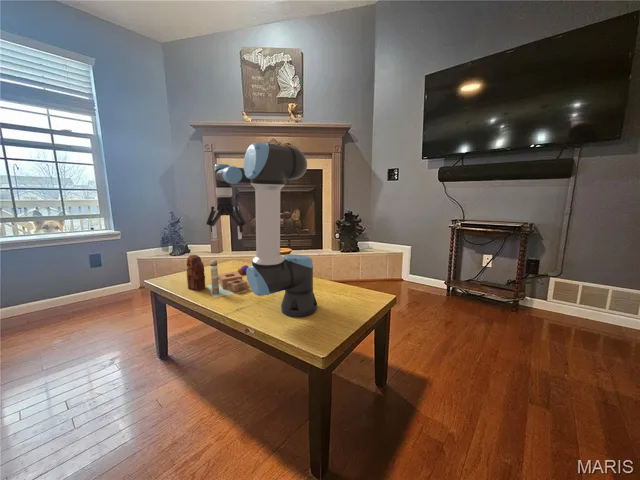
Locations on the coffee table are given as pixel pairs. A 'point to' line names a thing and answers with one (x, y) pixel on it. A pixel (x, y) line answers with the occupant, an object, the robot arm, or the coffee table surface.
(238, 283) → the brown holed brick
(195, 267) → the wooden figurine
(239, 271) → the kendama
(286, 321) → the coffee table surface
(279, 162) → the robot arm
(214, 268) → the grey banded cylinder
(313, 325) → the coffee table surface
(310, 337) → the coffee table surface
